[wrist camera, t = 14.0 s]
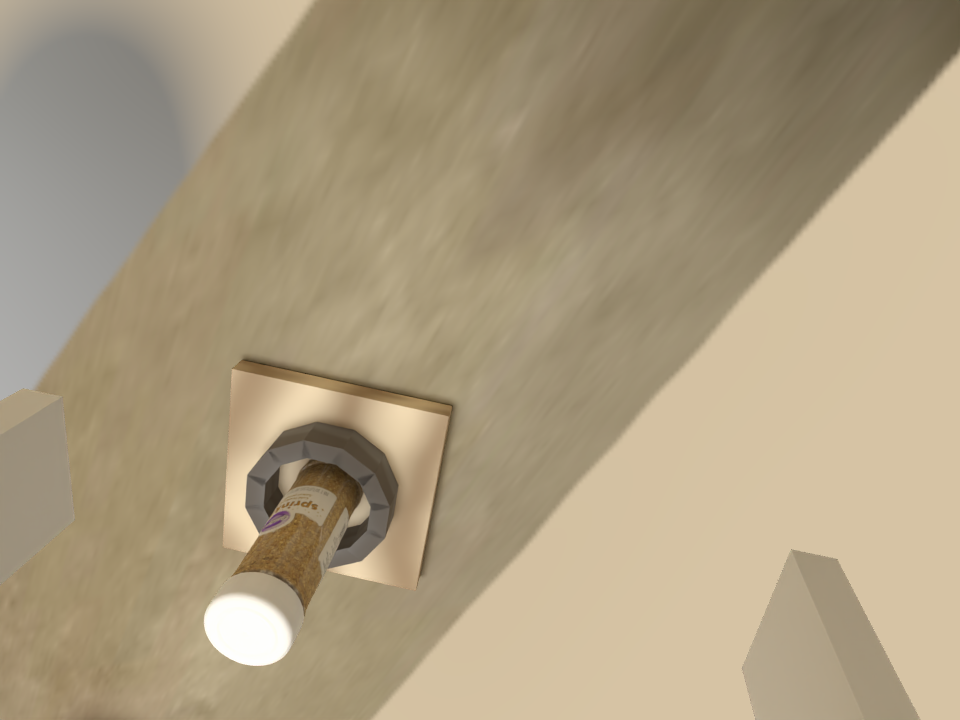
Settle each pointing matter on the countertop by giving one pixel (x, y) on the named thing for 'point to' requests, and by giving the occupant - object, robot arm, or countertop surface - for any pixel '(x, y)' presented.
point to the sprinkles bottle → (283, 568)
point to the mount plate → (336, 463)
